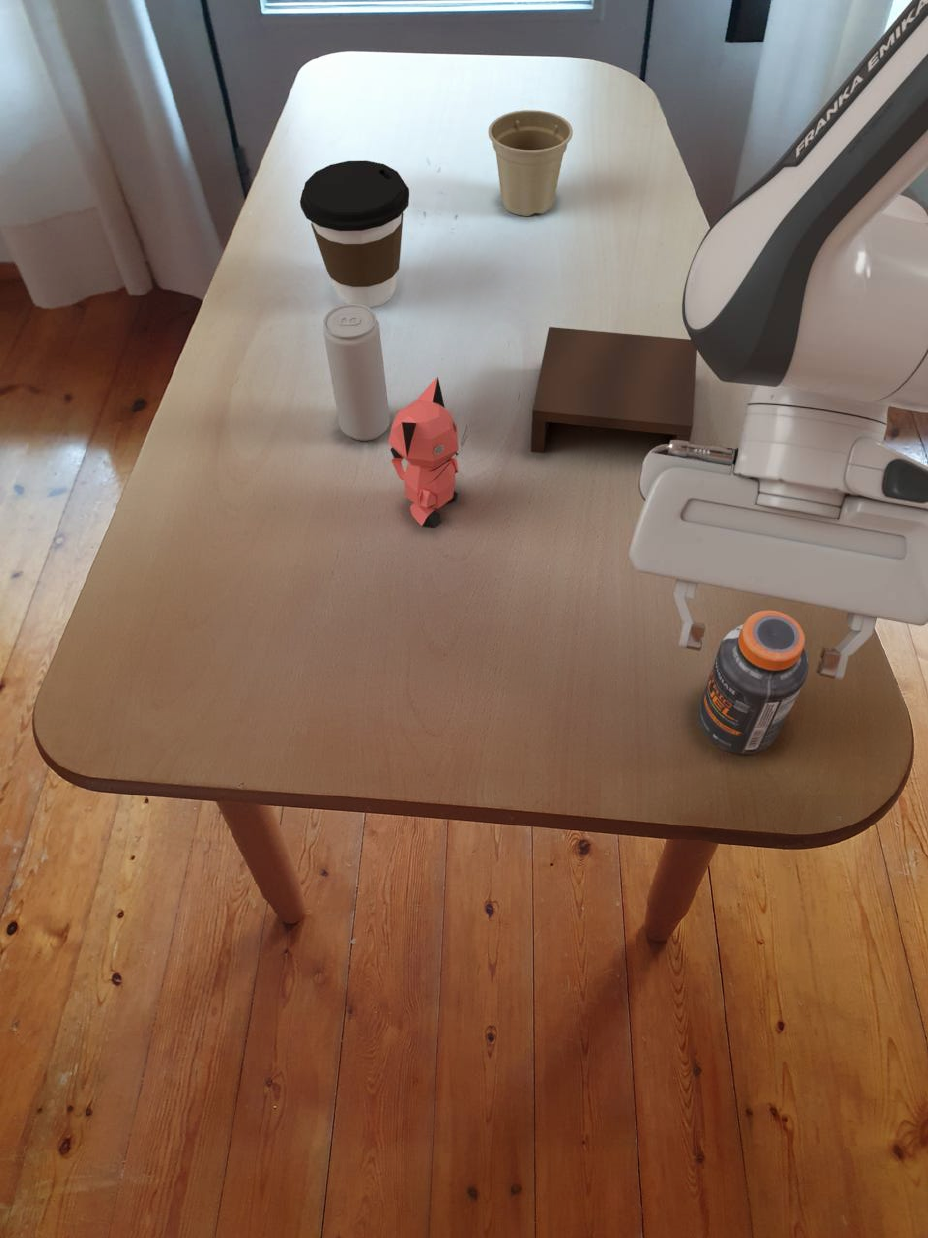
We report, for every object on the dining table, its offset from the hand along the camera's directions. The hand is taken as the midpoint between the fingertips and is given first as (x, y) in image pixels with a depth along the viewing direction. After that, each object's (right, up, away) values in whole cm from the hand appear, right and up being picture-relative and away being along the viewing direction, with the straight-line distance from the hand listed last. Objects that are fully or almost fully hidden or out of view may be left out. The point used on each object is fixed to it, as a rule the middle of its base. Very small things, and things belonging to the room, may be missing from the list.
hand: (758, 662), depth 65 cm
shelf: (-6, +22, +25) cm, 34 cm away
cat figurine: (-23, +13, +19) cm, 33 cm away
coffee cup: (-31, +38, +38) cm, 62 cm away
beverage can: (-30, +21, +25) cm, 44 cm away
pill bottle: (0, -5, +5) cm, 7 cm away
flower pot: (-13, +52, +48) cm, 72 cm away
